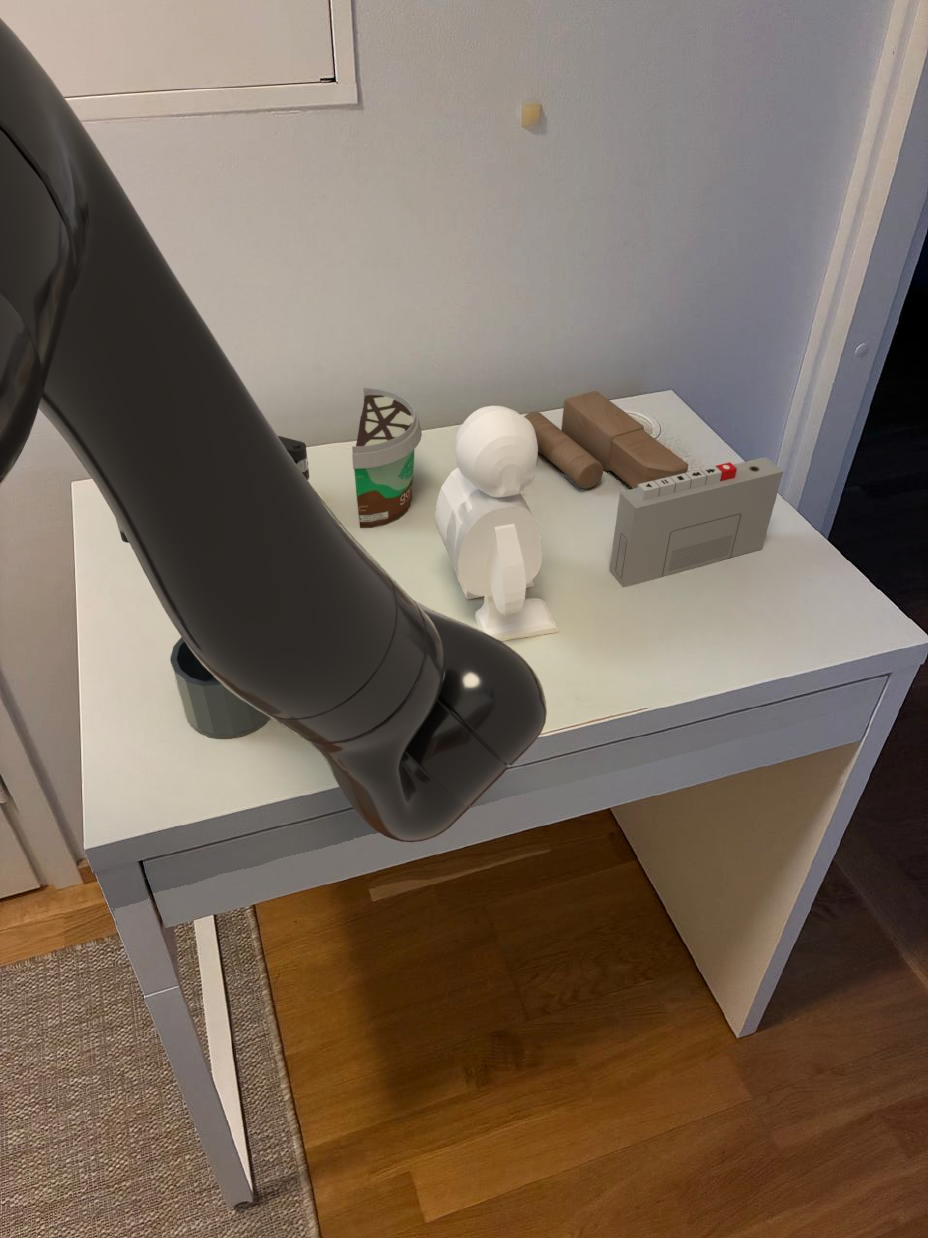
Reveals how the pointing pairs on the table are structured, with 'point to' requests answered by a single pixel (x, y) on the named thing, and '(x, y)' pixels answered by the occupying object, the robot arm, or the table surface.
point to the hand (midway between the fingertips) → (160, 428)
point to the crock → (211, 699)
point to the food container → (385, 457)
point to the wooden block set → (602, 444)
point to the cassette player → (693, 519)
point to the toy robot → (495, 522)
